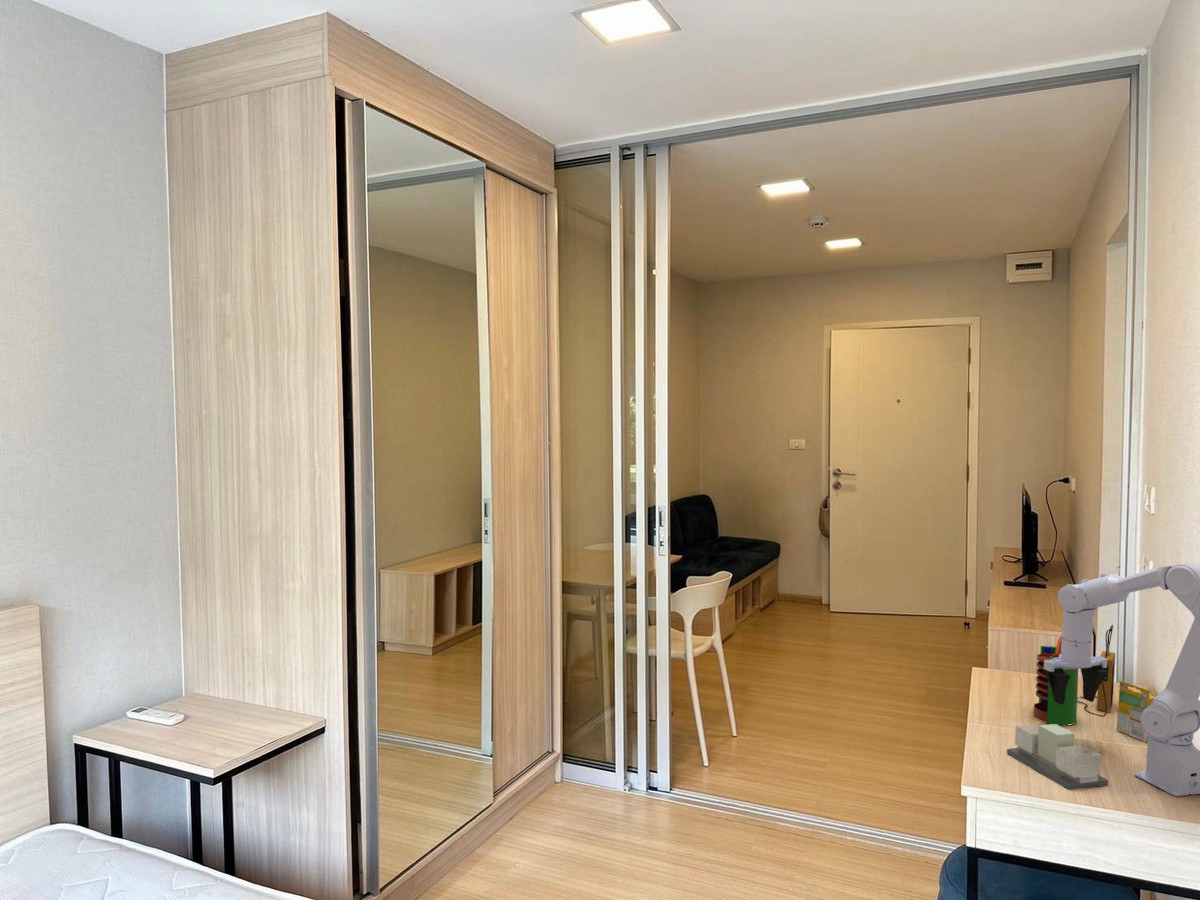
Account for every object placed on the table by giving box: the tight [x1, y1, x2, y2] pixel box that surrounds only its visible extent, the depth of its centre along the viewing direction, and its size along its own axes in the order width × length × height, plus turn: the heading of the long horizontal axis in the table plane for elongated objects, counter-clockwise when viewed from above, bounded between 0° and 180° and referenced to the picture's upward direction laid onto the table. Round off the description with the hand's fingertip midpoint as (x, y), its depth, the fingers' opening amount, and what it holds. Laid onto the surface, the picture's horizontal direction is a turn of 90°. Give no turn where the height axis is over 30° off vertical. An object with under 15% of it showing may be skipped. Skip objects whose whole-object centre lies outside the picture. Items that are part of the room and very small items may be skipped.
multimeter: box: [1077, 624, 1116, 717], centre depth 211 cm, size 15×10×20 cm
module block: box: [1038, 724, 1075, 764], centre depth 174 cm, size 5×4×6 cm
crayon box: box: [1116, 680, 1156, 743], centre depth 192 cm, size 7×3×12 cm, turn 20°
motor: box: [1033, 634, 1079, 725], centre depth 202 cm, size 10×9×20 cm
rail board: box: [1006, 723, 1109, 790], centre depth 174 cm, size 17×9×6 cm, turn 14°
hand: (1073, 701), depth 187 cm, fingers open, 7 cm apart
